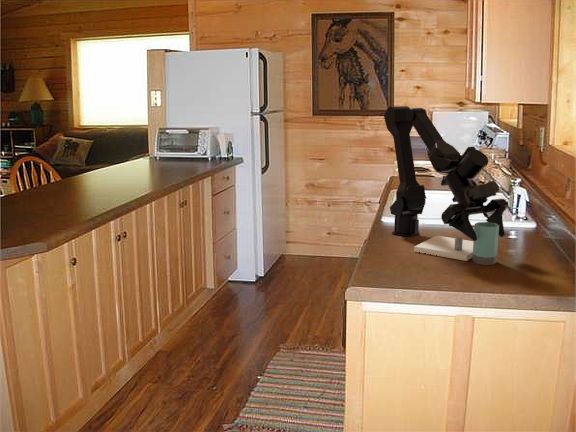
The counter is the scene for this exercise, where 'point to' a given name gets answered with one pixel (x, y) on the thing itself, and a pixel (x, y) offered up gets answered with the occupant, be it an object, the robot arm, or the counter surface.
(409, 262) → the counter surface
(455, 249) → the pin board
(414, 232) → the robot arm
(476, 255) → the teal faceted cylinder
